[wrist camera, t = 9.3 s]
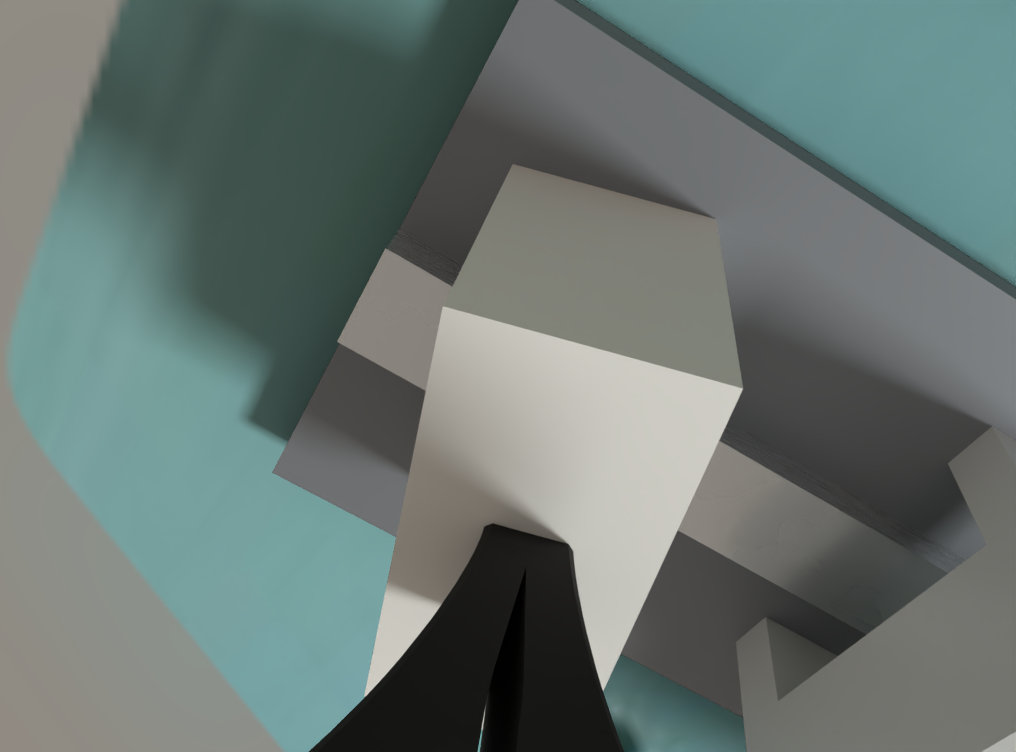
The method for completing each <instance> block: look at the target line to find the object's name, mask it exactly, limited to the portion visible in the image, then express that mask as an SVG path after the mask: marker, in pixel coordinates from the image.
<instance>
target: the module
mask: <svg viewBox="0 0 1016 752" xmlns="http://www.w3.org/2000/svg"><path fill="white" fill-rule="evenodd" d="M742 390H743V384H742V378H741V372H740V365H739V359H738V353H737V346H736V340H735V334H734V328H733V321H732V315H731V309H730V302H729V296H728V290H727V283H726V277H725V271H724V264H723V258H722V252H721V246H720V239H719V233H718V227H717V220H716V219H714V218H710V217H706V216H703V215H699V214H695V213H692V212H688V211H684V210H680V209H677V208H673V207H669V206H666V205H662V204H658V203H655V202H651V201H647V200H644V199H640V198H636V197H633V196H629V195H625V194H622V193H618V192H614V191H610V190H607V189H603V188H599V187H596V186H592V185H588V184H585V183H581V182H577V181H574V180H570V179H566V178H563V177H559V176H555V175H551V174H548V173H544V172H540V171H537V170H533V169H529V168H526V167H522V166H518V165H515V164H513V165H512V167H511V169H510V171H509V173H508V175H507V177H506V179H505V181H504V183H503V185H502V187H501V189H500V191H499V193H498V195H497V197H496V199H495V201H494V203H493V205H492V207H491V209H490V211H489V213H488V215H487V217H486V219H485V221H484V224H483V226H482V228H481V230H480V232H479V234H478V236H477V238H476V240H475V242H474V244H473V246H472V248H471V250H470V252H469V254H468V256H467V258H466V260H465V262H464V264H463V266H462V268H461V270H460V272H459V274H458V276H457V278H456V280H455V282H454V285H453V287H452V289H451V291H450V293H449V295H448V297H447V299H446V301H445V303H444V305H443V308H442V313H441V318H440V323H439V328H438V333H437V338H436V343H435V348H434V353H433V358H432V363H431V368H430V372H429V377H428V382H427V387H426V392H425V397H424V402H423V407H422V412H421V417H420V422H419V427H418V432H417V437H416V442H415V447H414V452H413V457H412V462H411V467H410V472H409V477H408V482H407V487H406V492H405V497H404V502H403V507H402V512H401V517H400V522H399V527H398V532H397V537H396V542H395V547H394V551H393V556H392V561H391V566H390V571H389V576H388V581H387V586H386V591H385V596H384V601H383V606H382V611H381V616H380V621H379V626H378V631H377V636H376V641H375V646H374V651H373V656H372V661H371V666H370V671H369V676H368V681H367V686H366V691H365V697H366V696H367V694H368V693H369V692H370V691H371V690H372V689H373V688H374V687H375V686H376V685H377V684H378V683H379V682H380V681H381V679H382V678H383V677H384V676H385V675H386V674H387V673H388V672H389V670H390V669H391V668H392V667H393V666H394V665H395V663H396V662H397V661H398V660H399V659H400V658H401V656H402V655H403V654H404V653H405V652H406V650H407V649H408V648H409V647H410V645H411V644H412V643H413V641H414V640H415V639H416V638H417V636H418V635H419V634H420V633H421V631H422V630H423V629H424V628H425V626H426V625H427V624H428V623H429V621H430V620H431V619H432V617H433V616H434V614H435V613H436V612H437V610H438V609H439V607H440V606H441V604H442V603H443V601H444V600H445V598H446V597H447V596H448V594H449V593H450V591H451V590H452V588H453V587H454V585H455V584H456V582H457V581H458V579H459V577H460V576H461V574H462V572H463V571H464V569H465V567H466V566H467V564H468V562H469V560H470V558H471V557H472V555H473V553H474V551H475V549H476V547H477V544H478V542H479V540H480V538H481V535H482V532H483V529H484V526H487V525H490V524H492V523H494V524H497V525H501V526H505V527H508V528H512V529H515V530H519V531H523V532H526V533H530V534H533V535H537V536H541V537H544V538H548V539H552V540H556V541H559V542H563V543H567V544H569V545H570V547H571V548H572V550H573V553H574V565H575V573H576V580H577V587H578V593H579V598H580V603H581V608H582V613H583V618H584V622H585V627H586V631H587V635H588V639H589V643H590V647H591V651H592V655H593V658H594V662H595V666H596V670H597V673H598V677H599V680H600V683H601V687H602V690H604V688H605V686H606V684H607V682H608V680H609V677H610V675H611V673H612V671H613V669H614V667H615V665H616V662H617V660H618V658H619V656H620V654H621V652H622V649H623V647H624V645H625V643H626V641H627V639H628V636H629V634H630V632H631V630H632V628H633V626H634V623H635V621H636V619H637V617H638V615H639V613H640V610H641V608H642V606H643V604H644V602H645V600H646V598H647V595H648V593H649V591H650V589H651V587H652V585H653V582H654V580H655V578H656V576H657V574H658V572H659V569H660V567H661V565H662V563H663V561H664V559H665V556H666V554H667V552H668V550H669V548H670V546H671V544H672V541H673V539H674V537H675V535H676V533H677V531H678V528H679V526H680V524H681V522H682V520H683V518H684V515H685V513H686V511H687V509H688V507H689V505H690V502H691V500H692V498H693V496H694V494H695V492H696V489H697V487H698V485H699V483H700V481H701V479H702V477H703V474H704V472H705V470H706V468H707V466H708V464H709V461H710V459H711V457H712V455H713V453H714V451H715V448H716V446H717V444H718V442H719V440H720V438H721V435H722V433H723V431H724V429H725V427H726V425H727V423H728V420H729V418H730V416H731V414H732V412H733V410H734V407H735V405H736V403H737V401H738V399H739V397H740V394H741V392H742ZM485 707H486V706H485ZM484 715H485V712H484ZM483 723H484V717H483ZM483 723H482V728H481V729H483Z"/></svg>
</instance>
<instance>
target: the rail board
mask: <svg viewBox="0 0 1016 752" xmlns="http://www.w3.org/2000/svg"><path fill="white" fill-rule="evenodd" d="M513 164H515V165H518V166H522V167H526V168H529V169H533V170H537V171H540V172H544V173H548V174H551V175H555V176H559V177H563V178H566V179H570V180H574V181H577V182H581V183H585V184H588V185H592V186H596V187H599V188H603V189H607V190H610V191H614V192H618V193H622V194H625V195H629V196H633V197H636V198H640V199H644V200H647V201H651V202H655V203H658V204H662V205H666V206H669V207H673V208H677V209H680V210H684V211H688V212H692V213H695V214H699V215H703V216H706V217H710V218H714V219H716V220H717V227H718V233H719V239H720V246H721V252H722V258H723V264H724V271H725V277H726V283H727V290H728V296H729V302H730V309H731V315H732V321H733V328H734V334H735V340H736V346H737V353H738V359H739V365H740V372H741V378H742V384H743V390H742V392H741V394H740V397H739V399H738V401H737V403H736V405H735V407H734V410H733V412H732V414H731V416H730V418H729V420H728V423H727V425H726V427H725V429H724V431H723V433H722V435H721V438H720V440H719V442H718V444H717V446H716V448H715V451H714V453H713V455H712V457H711V459H710V461H709V464H708V466H707V468H706V470H705V472H704V474H703V477H702V479H701V481H700V483H699V485H698V487H697V489H696V492H695V494H694V496H693V498H692V500H691V502H690V505H689V507H688V509H687V511H686V513H685V515H684V518H683V520H682V522H681V524H680V526H679V528H678V531H677V533H676V535H675V537H674V539H673V541H672V544H671V546H670V548H669V550H668V552H667V554H666V556H665V559H664V561H663V563H662V565H661V567H660V569H659V572H658V574H657V576H656V578H655V580H654V582H653V585H652V587H651V589H650V591H649V593H648V595H647V598H646V600H645V602H644V604H643V606H642V608H641V610H640V613H639V615H638V617H637V619H636V621H635V623H634V626H633V628H632V630H631V632H630V634H629V636H628V639H627V641H626V643H625V645H624V647H623V649H622V652H621V654H622V655H624V656H626V657H628V658H629V659H631V660H633V661H635V662H637V663H639V664H641V665H643V666H645V667H647V668H649V669H651V670H653V671H654V672H656V673H658V674H660V675H662V676H664V677H666V678H668V679H670V680H672V681H674V682H676V683H677V684H679V685H681V686H683V687H685V688H687V689H689V690H691V691H693V692H695V693H697V694H699V695H701V696H702V697H704V698H706V699H708V700H710V701H712V702H714V703H716V704H718V705H720V706H722V707H724V708H725V709H727V710H729V711H731V712H733V713H735V714H737V715H739V716H741V717H743V720H744V730H745V740H746V750H747V752H1016V287H1015V286H1013V285H1012V284H1010V283H1009V282H1007V281H1006V280H1004V279H1003V278H1001V277H1000V276H998V275H996V274H995V273H993V272H992V271H990V270H989V269H987V268H986V267H984V266H983V265H981V264H980V263H978V262H976V261H975V260H973V259H972V258H970V257H969V256H967V255H966V254H964V253H963V252H961V251H960V250H958V249H957V248H955V247H953V246H952V245H950V244H949V243H947V242H946V241H944V240H943V239H941V238H940V237H938V236H937V235H935V234H933V233H932V232H930V231H929V230H927V229H926V228H924V227H923V226H921V225H920V224H918V223H917V222H915V221H913V220H912V219H910V218H909V217H907V216H906V215H904V214H903V213H901V212H900V211H898V210H897V209H895V208H894V207H892V206H890V205H889V204H887V203H886V202H884V201H883V200H881V199H880V198H878V197H877V196H875V195H874V194H872V193H870V192H869V191H867V190H866V189H864V188H863V187H861V186H860V185H858V184H857V183H855V182H854V181H852V180H851V179H849V178H847V177H846V176H844V175H843V174H841V173H840V172H838V171H837V170H835V169H834V168H832V167H831V166H829V165H827V164H826V163H824V162H823V161H821V160H820V159H818V158H817V157H815V156H814V155H812V154H811V153H809V152H807V151H806V150H804V149H803V148H801V147H800V146H798V145H797V144H795V143H794V142H792V141H791V140H789V139H788V138H786V137H784V136H783V135H781V134H780V133H778V132H777V131H775V130H774V129H772V128H771V127H769V126H768V125H766V124H764V123H763V122H761V121H760V120H758V119H757V118H755V117H754V116H752V115H751V114H749V113H748V112H746V111H744V110H743V109H741V108H740V107H738V106H737V105H735V104H734V103H732V102H731V101H729V100H728V99H726V98H725V97H723V96H721V95H720V94H718V93H717V92H715V91H714V90H712V89H711V88H709V87H708V86H706V85H705V84H703V83H701V82H700V81H698V80H697V79H695V78H694V77H692V76H691V75H689V74H688V73H686V72H685V71H683V70H681V69H680V68H678V67H677V66H675V65H674V64H672V63H671V62H669V61H668V60H666V59H665V58H663V57H662V56H660V55H658V54H657V53H655V52H654V51H652V50H651V49H649V48H648V47H646V46H645V45H643V44H642V43H640V42H638V41H637V40H635V39H634V38H632V37H631V36H629V35H628V34H626V33H625V32H623V31H622V30H620V29H618V28H617V27H615V26H614V25H612V24H611V23H609V22H608V21H606V20H605V19H603V18H602V17H600V16H599V15H597V14H595V13H594V12H592V11H591V10H589V9H588V8H586V7H585V6H583V5H582V4H580V3H579V2H577V1H575V0H519V1H518V2H517V4H516V6H515V8H514V10H513V12H512V14H511V16H510V18H509V20H508V22H507V24H506V25H505V27H504V29H503V31H502V33H501V35H500V37H499V39H498V41H497V43H496V45H495V47H494V48H493V50H492V52H491V54H490V56H489V58H488V60H487V62H486V64H485V66H484V68H483V70H482V71H481V73H480V75H479V77H478V79H477V81H476V83H475V85H474V87H473V89H472V91H471V93H470V94H469V96H468V98H467V100H466V102H465V104H464V106H463V108H462V110H461V112H460V114H459V116H458V117H457V119H456V121H455V123H454V125H453V127H452V129H451V131H450V133H449V135H448V137H447V139H446V140H445V142H444V144H443V146H442V148H441V150H440V152H439V154H438V156H437V158H436V160H435V162H434V163H433V165H432V167H431V169H430V171H429V173H428V175H427V177H426V179H425V181H424V183H423V184H422V186H421V188H420V190H419V192H418V194H417V196H416V198H415V200H414V202H413V204H412V206H411V207H410V209H409V211H408V213H407V215H406V217H405V219H404V221H403V223H402V225H401V227H400V229H399V230H398V231H397V233H396V234H395V236H394V237H393V238H392V240H391V241H390V243H389V244H388V245H387V247H386V248H385V250H384V252H383V254H382V256H381V258H380V260H379V262H378V264H377V266H376V268H375V270H374V271H373V273H372V275H371V277H370V279H369V281H368V283H367V285H366V287H365V289H364V291H363V293H362V295H361V297H360V298H359V300H358V302H357V304H356V306H355V308H354V310H353V312H352V314H351V316H350V318H349V320H348V322H347V323H346V325H345V327H344V329H343V331H342V333H341V335H340V337H339V339H338V341H337V342H338V343H340V344H339V345H338V347H337V349H336V351H335V353H334V355H333V357H332V359H331V361H330V363H329V365H328V367H327V368H326V370H325V372H324V374H323V376H322V378H321V380H320V382H319V384H318V386H317V388H316V390H315V391H314V393H313V395H312V397H311V399H310V401H309V403H308V405H307V407H306V409H305V411H304V413H303V414H302V416H301V418H300V420H299V422H298V424H297V426H296V428H295V430H294V432H293V434H292V436H291V437H290V439H289V441H288V443H287V445H286V447H285V449H284V451H283V453H282V455H281V457H280V459H279V460H278V462H277V464H276V466H275V468H274V470H273V472H272V473H274V474H276V475H278V476H280V477H282V478H284V479H286V480H288V481H289V482H291V483H293V484H295V485H297V486H299V487H301V488H303V489H305V490H307V491H309V492H311V493H313V494H314V495H316V496H318V497H320V498H322V499H324V500H326V501H328V502H330V503H332V504H334V505H336V506H337V507H339V508H341V509H343V510H345V511H347V512H349V513H351V514H353V515H355V516H357V517H359V518H361V519H362V520H364V521H366V522H368V523H370V524H372V525H374V526H376V527H378V528H380V529H382V530H384V531H386V532H387V533H389V534H391V535H393V536H395V537H397V532H398V527H399V522H400V517H401V512H402V507H403V502H404V497H405V492H406V487H407V482H408V477H409V472H410V467H411V462H412V457H413V452H414V447H415V442H416V437H417V432H418V427H419V422H420V417H421V412H422V407H423V402H424V397H425V392H426V387H427V382H428V377H429V372H430V368H431V363H432V358H433V353H434V348H435V343H436V338H437V333H438V328H439V323H440V318H441V313H442V308H443V305H444V303H445V301H446V299H447V297H448V295H449V293H450V291H451V289H452V287H453V285H454V282H455V280H456V278H457V276H458V274H459V272H460V270H461V268H462V266H463V264H464V262H465V260H466V258H467V256H468V254H469V252H470V250H471V248H472V246H473V244H474V242H475V240H476V238H477V236H478V234H479V232H480V230H481V228H482V226H483V224H484V221H485V219H486V217H487V215H488V213H489V211H490V209H491V207H492V205H493V203H494V201H495V199H496V197H497V195H498V193H499V191H500V189H501V187H502V185H503V183H504V181H505V179H506V177H507V175H508V173H509V171H510V169H511V167H512V165H513Z"/></svg>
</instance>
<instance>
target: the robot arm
mask: <svg viewBox="0 0 1016 752" xmlns="http://www.w3.org/2000/svg"><path fill="white" fill-rule="evenodd" d="M485 706H486V707H485ZM484 712H485V715H484ZM483 717H484V723H483ZM482 723H483V731H482V740H481V748H480V752H624V751H623V748H622V745H621V743H620V740H619V737H618V735H617V732H616V729H615V726H614V723H613V721H612V718H611V715H610V712H609V708H608V705H607V702H606V699H605V696H604V693H603V690H602V687H601V683H600V680H599V677H598V673H597V670H596V666H595V662H594V658H593V655H592V651H591V647H590V643H589V639H588V635H587V631H586V627H585V622H584V618H583V613H582V608H581V603H580V598H579V593H578V587H577V580H576V573H575V565H574V553H573V550H572V548H571V547H570V545H569V544H567V543H563V542H559V541H556V540H552V539H548V538H544V537H541V536H537V535H533V534H530V533H526V532H523V531H519V530H515V529H512V528H508V527H505V526H501V525H497V524H494V523H492V524H490V525H487V526H484V529H483V532H482V535H481V538H480V540H479V542H478V544H477V547H476V549H475V551H474V553H473V555H472V557H471V558H470V560H469V562H468V564H467V566H466V567H465V569H464V571H463V572H462V574H461V576H460V577H459V579H458V581H457V582H456V584H455V585H454V587H453V588H452V590H451V591H450V593H449V594H448V596H447V597H446V598H445V600H444V601H443V603H442V604H441V606H440V607H439V609H438V610H437V612H436V613H435V614H434V616H433V617H432V619H431V620H430V621H429V623H428V624H427V625H426V626H425V628H424V629H423V630H422V631H421V633H420V634H419V635H418V636H417V638H416V639H415V640H414V641H413V643H412V644H411V645H410V647H409V648H408V649H407V650H406V652H405V653H404V654H403V655H402V656H401V658H400V659H399V660H398V661H397V662H396V663H395V665H394V666H393V667H392V668H391V669H390V670H389V672H388V673H387V674H386V675H385V676H384V677H383V678H382V679H381V681H380V682H379V683H378V684H377V685H376V686H375V687H374V688H373V689H372V690H371V691H370V692H369V693H368V694H367V696H366V697H365V698H364V699H363V700H362V701H361V702H360V703H359V704H358V705H357V706H356V707H355V708H354V709H353V710H352V711H351V712H350V713H349V714H348V715H347V716H346V717H345V718H344V719H343V720H342V721H341V722H340V723H339V724H338V725H337V726H336V727H335V728H334V729H333V730H332V731H331V732H330V733H328V734H327V735H326V736H325V737H324V738H323V739H322V740H321V741H320V742H319V743H318V744H317V745H316V746H314V747H313V748H312V749H311V750H310V751H309V752H477V751H478V745H479V739H480V734H481V728H482Z"/></svg>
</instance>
